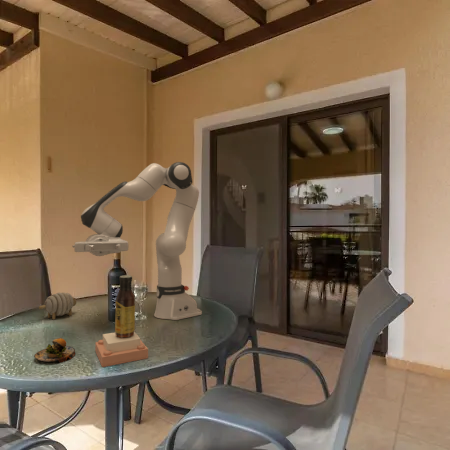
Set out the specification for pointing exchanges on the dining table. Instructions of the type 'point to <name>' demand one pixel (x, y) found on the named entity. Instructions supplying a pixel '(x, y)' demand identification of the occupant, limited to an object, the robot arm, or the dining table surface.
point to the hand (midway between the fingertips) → (104, 247)
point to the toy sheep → (59, 304)
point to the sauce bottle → (125, 309)
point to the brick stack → (120, 349)
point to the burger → (56, 352)
